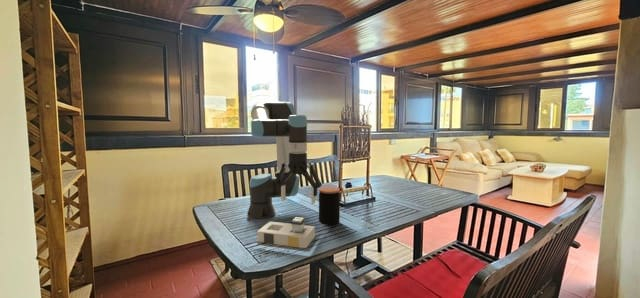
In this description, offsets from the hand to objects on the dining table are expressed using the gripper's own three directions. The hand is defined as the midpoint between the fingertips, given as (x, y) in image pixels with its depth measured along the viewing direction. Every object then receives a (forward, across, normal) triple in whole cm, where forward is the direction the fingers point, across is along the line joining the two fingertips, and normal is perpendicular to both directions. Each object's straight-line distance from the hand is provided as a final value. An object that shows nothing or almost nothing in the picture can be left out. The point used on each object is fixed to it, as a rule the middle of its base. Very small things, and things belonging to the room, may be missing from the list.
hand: (298, 201), depth 117 cm
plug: (+17, 0, -1) cm, 17 cm away
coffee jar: (+19, +7, +26) cm, 33 cm away
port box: (+18, -5, -1) cm, 19 cm away
